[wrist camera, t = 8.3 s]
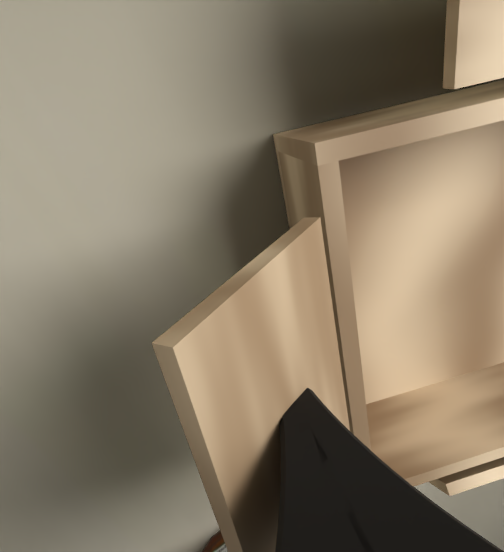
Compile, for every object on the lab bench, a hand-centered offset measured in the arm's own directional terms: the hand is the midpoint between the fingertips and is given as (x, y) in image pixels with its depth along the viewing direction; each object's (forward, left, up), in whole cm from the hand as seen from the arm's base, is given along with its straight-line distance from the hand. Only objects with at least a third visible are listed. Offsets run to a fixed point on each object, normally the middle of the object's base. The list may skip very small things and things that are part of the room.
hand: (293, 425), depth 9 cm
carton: (-10, +2, -6) cm, 12 cm away
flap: (-2, 0, -2) cm, 2 cm away
